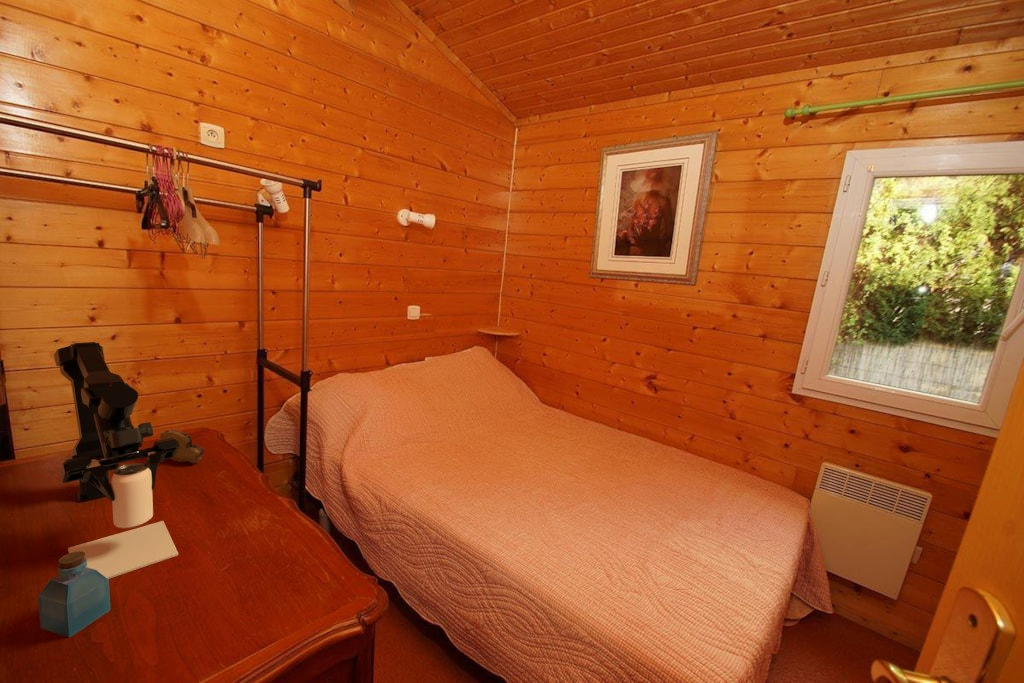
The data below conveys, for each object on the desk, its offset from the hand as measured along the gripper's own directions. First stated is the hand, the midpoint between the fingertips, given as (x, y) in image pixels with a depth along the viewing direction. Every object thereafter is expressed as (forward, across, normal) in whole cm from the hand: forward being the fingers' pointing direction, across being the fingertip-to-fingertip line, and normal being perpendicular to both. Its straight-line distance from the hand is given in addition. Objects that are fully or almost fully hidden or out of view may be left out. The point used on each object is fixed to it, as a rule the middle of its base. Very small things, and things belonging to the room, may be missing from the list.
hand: (133, 494), depth 91 cm
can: (+4, 0, +6) cm, 7 cm away
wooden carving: (-20, +21, +40) cm, 49 cm away
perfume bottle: (+20, -12, -1) cm, 23 cm away
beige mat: (+8, -2, +10) cm, 13 cm away
